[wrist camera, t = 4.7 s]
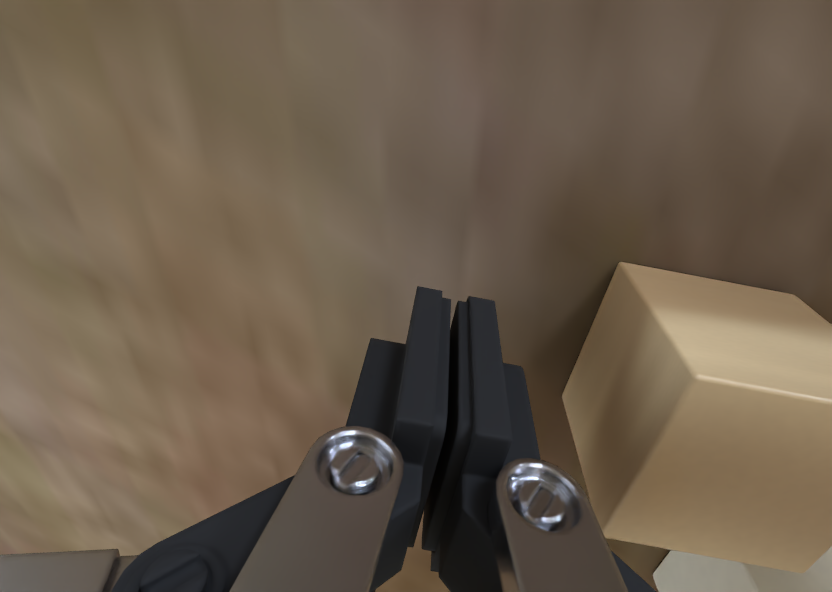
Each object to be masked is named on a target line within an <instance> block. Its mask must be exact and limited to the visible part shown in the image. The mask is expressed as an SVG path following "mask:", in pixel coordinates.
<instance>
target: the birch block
mask: <svg viewBox="0 0 832 592" xmlns="http://www.w3.org/2000/svg"><path fill="white" fill-rule="evenodd" d="M562 399H563V403H564V406H565V410H566V414H567V417H568V421H569V425H570V428H571V432H572V436H573V439H574V443H575V447H576V450H577V454H578V458H579V461H580V465H581V469H582V472H583V476H584V480H585V483H586V487H587V491H588V494H589V498H590V502H591V505H592V508H593V511H594V513H595V515H596V518H597V520H598V522H599V525H600V527H601V529H602V532H603V534H604V536H605V538H609V539H614V540H620V541H625V542H631V543H636V544H642V545H647V546H653V547H658V548H664V549H669V550H675V551H680V552H685V553H691V554H696V555H702V556H707V557H713V558H718V559H724V560H729V561H735V562H740V563H746V564H751V565H757V566H762V567H768V568H773V569H779V570H784V571H790V572H795V573H805V572H806V571H807V570H808V569H809V568H810V567H811V566H812V565H813V564H814V563H815V562H816V561H817V560H818V559H819V558H820V557H821V556H822V555H823V554H824V553H825V552H826V551H827V550H829V549H830V548H831V547H832V325H831V324H830V323H829V322H827V321H826V320H825V319H824V318H822V317H821V316H820V315H819V314H818V313H816V312H815V311H814V310H813V309H811V308H810V307H809V306H808V305H806V304H805V303H804V302H803V301H801V300H800V299H799V298H798V297H797V296H795V295H793V294H788V293H783V292H777V291H772V290H767V289H762V288H756V287H751V286H746V285H741V284H735V283H730V282H725V281H720V280H714V279H709V278H704V277H699V276H693V275H688V274H683V273H677V272H672V271H667V270H662V269H656V268H651V267H646V266H641V265H635V264H630V263H625V262H619V263H618V265H617V268H616V270H615V272H614V275H613V277H612V279H611V282H610V284H609V286H608V289H607V291H606V293H605V296H604V298H603V300H602V303H601V305H600V308H599V310H598V312H597V315H596V317H595V319H594V322H593V324H592V326H591V329H590V331H589V333H588V336H587V338H586V340H585V343H584V345H583V347H582V350H581V352H580V354H579V357H578V359H577V361H576V364H575V366H574V368H573V371H572V373H571V375H570V378H569V380H568V382H567V385H566V387H565V389H564V392H563V394H562Z"/></svg>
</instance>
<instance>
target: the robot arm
mask: <svg viewBox="0 0 832 592" xmlns="http://www.w3.org/2000/svg"><path fill="white" fill-rule="evenodd" d="M450 312H451V299H446V298H442V291H440V290H434V289H429V288H424V287H419V286H418V287H417V291H416V296H415V301H414V306H413V311H412V316H411V321H410V326H409V331H408V336H407V341H406V344H400V343H395V342H390V341H384V340H379V339H374V338H371V339H370V343H369V346H368V350H367V353H366V357H365V360H364V364H363V367H362V371H361V374H360V378H359V381H358V385H357V388H356V392H355V395H354V399H353V402H352V406H351V409H350V413H349V416H348V420H347V424H346V427H341V428H337V429H334V430H331V431H329V432H327V433H326V434H324V435H323V436H321V437H320V438H318V439H317V441H316V442H315V443H314V444H313V446H312V447H311V448H310V450H309V452H308V453H307V455H306V457H305V459H304V460H303V462H302V464H301V466H300V467H299V469H298V471H297V473H296V474H295V475H294V476H292V477H290V478H288V479H286V480H284V481H282V482H280V483H278V484H276V485H274V486H272V487H270V488H268V489H266V490H264V491H262V492H260V493H258V494H256V495H254V496H252V497H250V498H248V499H246V500H244V501H242V502H240V503H238V504H236V505H234V506H231V507H229V508H227V509H225V510H223V511H221V512H219V513H217V514H215V515H213V516H211V517H209V518H207V519H205V520H203V521H201V522H199V523H197V524H195V525H193V526H191V527H189V528H187V529H185V530H183V531H181V532H179V533H177V534H175V535H173V536H171V537H169V538H167V539H165V540H163V541H161V542H159V543H157V544H155V545H154V546H152V547H151V548H149V549H147V550H146V551H144V552H143V553H141V554H140V555H135V556H120V555H119V550H118V549H107V550H87V551H68V552H48V553H28V554H8V555H0V592H375V591H376V588H378V587H379V586H380V585H382V584H383V583H384V582H386V581H387V580H388V579H390V578H391V577H392V576H394V575H395V574H396V573H398V572H399V571H401V569H402V565H403V561H404V558H405V554H406V550H407V547H413V546H414V543H415V539H416V536H417V532H418V529H419V525H420V521H421V518H422V514H423V511H424V517H423V531H422V549H424V550H429V551H432V554H431V571H435V572H439V578H440V579H441V580H442V581H443V583H444V584H445V585H446V586H447V588H448V589H449V590H450V591H451V592H656V591H655V590H654V589H653V588H652V587H651V586H650V585H648V584H647V583H646V582H645V581H644V580H643V579H642V578H641V577H640V576H638V575H637V574H636V573H635V572H634V571H633V570H632V569H631V568H630V567H629V566H627V565H626V564H625V563H624V562H623V561H622V560H621V559H620V558H619V557H617V556H616V555H615V554H614V553H613V552H612V551H611V550H610V548H609V545H608V543H607V541H606V538H605V536H604V534H603V532H602V529H601V527H600V525H599V522H598V520H597V518H596V515H595V513H594V511H593V508H592V506H591V504H590V501H589V499H588V497H587V496H586V494H585V492H584V491H583V489H582V487H581V486H580V485H579V484H578V483H577V482H576V481H575V480H574V479H573V478H572V477H571V475H569V474H568V473H566V472H565V471H563V470H562V469H560V468H559V467H558V466H555V465H553V464H551V463H548V462H546V461H543V460H540V455H539V449H538V444H537V439H536V433H535V428H534V423H533V417H532V412H531V407H530V401H529V396H528V391H527V385H526V380H525V375H524V371H523V368H522V367H521V366H517V365H511V364H506V363H503V361H502V353H501V346H500V338H499V330H498V322H497V315H496V307H495V302H494V301H492V300H487V299H482V298H476V297H471V296H469V297H468V299H467V302H462V301H458V302H457V305H456V309H455V313H454V317H453V321H452V325H451V329H450Z"/></svg>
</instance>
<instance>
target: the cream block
mask: <svg viewBox="0 0 832 592" xmlns="http://www.w3.org/2000/svg"><path fill="white" fill-rule="evenodd" d="M653 578H654V581H655V584H656V587H657V590H658V592H832V547H831V548H830V549H829V550H827V551H826V552H825V553H824V554H823V555H822V556H821V557H820V558H819V559H818V560H817V561H816V562H815V563H814V564H813V565H812V566H811V567H810V568H809V569H808V570H807V571H806V572H805V573H795V572H790V571H784V570H779V569H773V568H768V567H762V566H757V565H751V564H746V563H740V562H735V561H729V560H724V559H718V558H713V557H707V556H702V555H696V554H691V553H685V552H680V551H675V550H670V552H669V553H668V554H667V556H666V557H665V558H664V560H663V561H662V562H661V564H660V565H659V566H658V568H657V569H656V571H655V572H654V573H653Z"/></svg>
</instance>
